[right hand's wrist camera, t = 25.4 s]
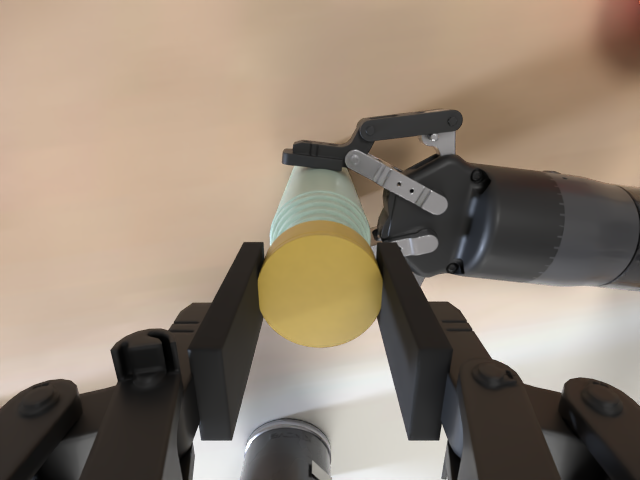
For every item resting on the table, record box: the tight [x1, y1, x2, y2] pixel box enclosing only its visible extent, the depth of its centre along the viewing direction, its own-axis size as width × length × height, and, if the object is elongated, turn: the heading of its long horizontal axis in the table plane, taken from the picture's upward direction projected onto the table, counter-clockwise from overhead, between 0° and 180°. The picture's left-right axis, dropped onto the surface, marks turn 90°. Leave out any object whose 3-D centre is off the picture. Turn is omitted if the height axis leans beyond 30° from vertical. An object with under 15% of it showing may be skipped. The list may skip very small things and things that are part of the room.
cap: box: [258, 220, 383, 348], centre depth 14 cm, size 4×4×2 cm
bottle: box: [270, 166, 371, 246], centre depth 22 cm, size 5×5×18 cm
